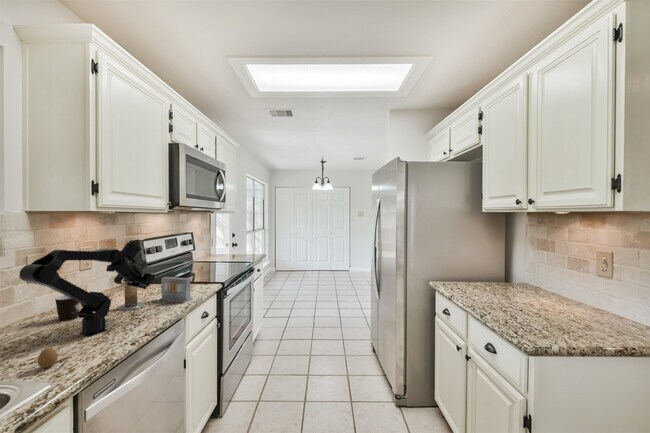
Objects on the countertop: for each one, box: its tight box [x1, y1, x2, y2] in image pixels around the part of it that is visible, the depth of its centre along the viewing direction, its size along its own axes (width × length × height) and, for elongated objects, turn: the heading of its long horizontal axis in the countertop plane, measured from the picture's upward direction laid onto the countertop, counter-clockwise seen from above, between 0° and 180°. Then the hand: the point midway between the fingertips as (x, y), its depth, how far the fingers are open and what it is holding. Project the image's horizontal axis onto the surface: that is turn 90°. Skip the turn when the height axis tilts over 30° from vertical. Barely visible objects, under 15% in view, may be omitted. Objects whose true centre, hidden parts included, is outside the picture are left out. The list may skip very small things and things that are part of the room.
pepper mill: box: [123, 282, 138, 308], centre depth 144 cm, size 5×5×16 cm
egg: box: [37, 347, 59, 369], centre depth 88 cm, size 4×4×6 cm
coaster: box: [117, 301, 145, 312], centre depth 144 cm, size 11×11×1 cm
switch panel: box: [159, 276, 193, 304], centre depth 155 cm, size 6×16×12 cm, turn 76°
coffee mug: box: [54, 294, 81, 322], centre depth 129 cm, size 12×9×10 cm
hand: (145, 288), depth 137 cm, fingers closed
